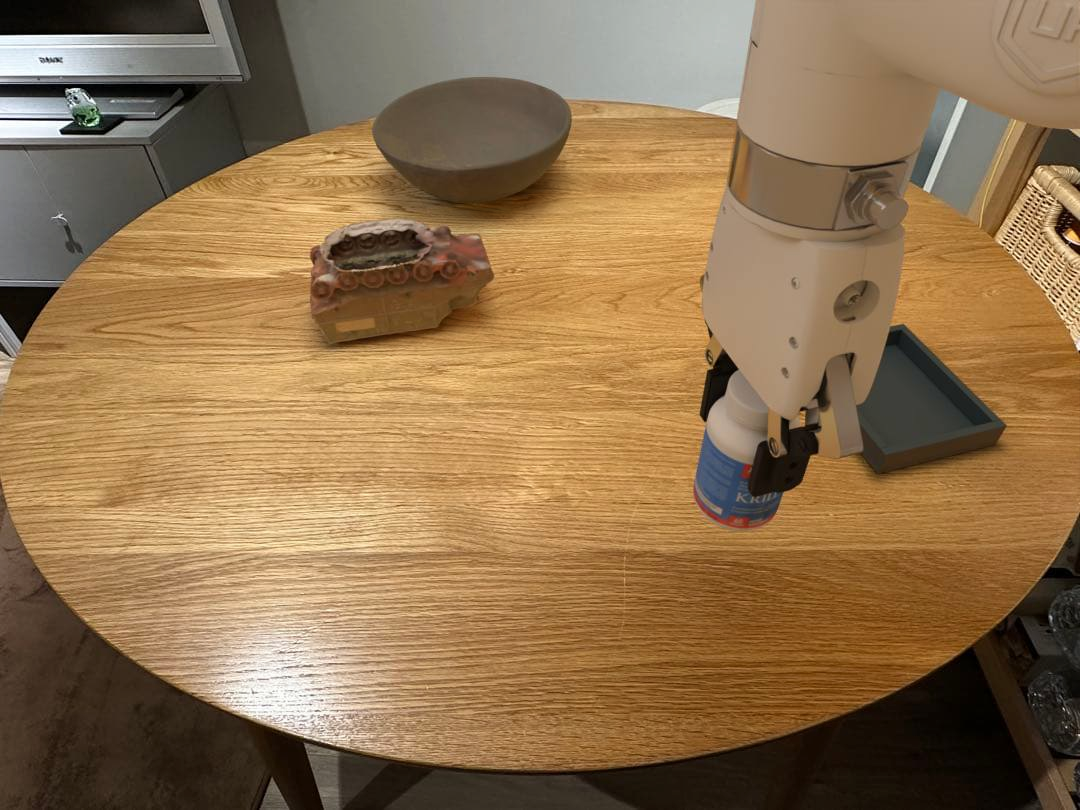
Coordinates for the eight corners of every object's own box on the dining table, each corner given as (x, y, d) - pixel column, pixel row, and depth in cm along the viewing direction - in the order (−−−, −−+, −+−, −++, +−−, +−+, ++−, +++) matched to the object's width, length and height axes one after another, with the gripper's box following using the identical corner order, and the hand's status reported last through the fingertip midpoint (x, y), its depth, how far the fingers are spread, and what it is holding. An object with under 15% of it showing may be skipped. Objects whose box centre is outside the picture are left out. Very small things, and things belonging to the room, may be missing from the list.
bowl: (593, 218, 101) (596, 146, 94) (391, 246, 97) (379, 172, 90) (546, 133, 120) (545, 67, 113) (375, 153, 115) (363, 86, 108)
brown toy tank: (323, 281, 92) (305, 209, 85) (491, 270, 93) (486, 197, 86) (312, 353, 82) (291, 277, 76) (498, 338, 84) (494, 263, 77)
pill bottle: (730, 548, 47) (759, 437, 40) (675, 489, 50) (692, 378, 43) (796, 510, 49) (835, 398, 42) (739, 457, 52) (766, 345, 45)
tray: (995, 444, 72) (1007, 425, 70) (877, 474, 69) (885, 455, 67) (896, 342, 82) (903, 323, 81) (790, 364, 80) (795, 345, 78)
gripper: (1033, 255, 28) (888, 547, 41) (792, 83, 40) (737, 350, 53) (854, 293, 27) (761, 583, 39) (659, 102, 39) (635, 372, 51)
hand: (748, 447), depth 46 cm, fingers closed on pill bottle, 5 cm apart
